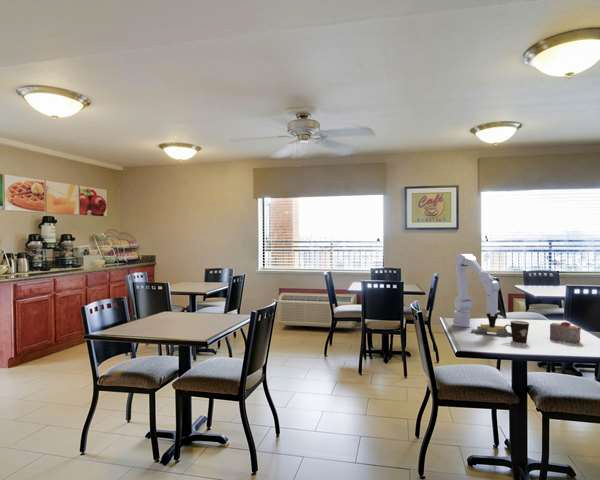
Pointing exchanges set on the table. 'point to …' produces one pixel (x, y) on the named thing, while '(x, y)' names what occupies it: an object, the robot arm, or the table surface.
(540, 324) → the table surface
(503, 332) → the right chain end
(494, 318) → the robot arm
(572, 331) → the food item
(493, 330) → the tan wooden beam
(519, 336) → the coffee mug
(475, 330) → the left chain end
